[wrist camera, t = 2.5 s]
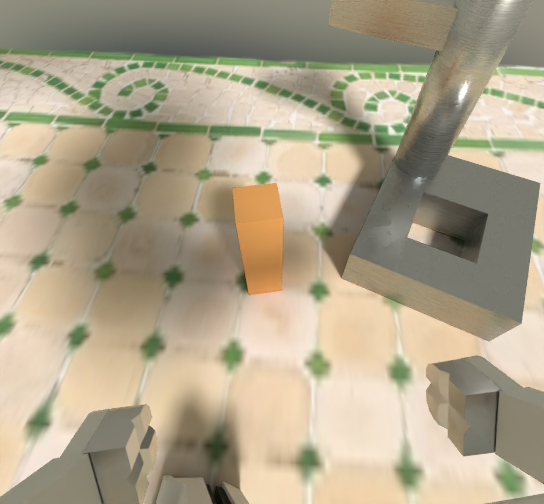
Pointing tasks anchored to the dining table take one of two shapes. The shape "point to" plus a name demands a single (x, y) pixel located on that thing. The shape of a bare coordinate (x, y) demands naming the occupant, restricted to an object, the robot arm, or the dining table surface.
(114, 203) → the dining table surface
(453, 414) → the robot arm
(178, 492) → the grey rounded block
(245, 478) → the dining table surface
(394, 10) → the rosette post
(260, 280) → the orange rectangular block
